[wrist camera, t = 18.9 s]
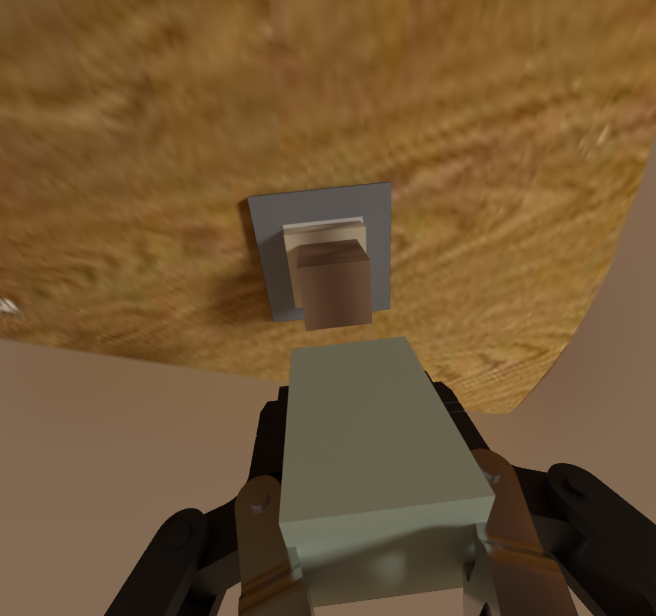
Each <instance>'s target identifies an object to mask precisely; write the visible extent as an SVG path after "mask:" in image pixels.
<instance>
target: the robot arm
mask: <svg viewBox="0 0 656 616" xmlns="http://www.w3.org/2000/svg"><path fill="white" fill-rule="evenodd" d="M424 371H425V370H424ZM425 373H426V374H427V376H428V378H429V380H430V381H431V383H432V385H433V387H434V388H435V390H436V392H437V394H438V395H439V397H440V399H441V401H442V403H443V404H444V406H445V408H446V410H447V411H448V413H449V415H450V417H451V418H452V420H453V422H454V424H455V425H456V427H457V429H458V431H459V432H460V434H461V436H462V438H463V439H464V441H465V443H466V445H467V446H468V448H469V450H470V452H471V453H472V455H473V457H474V459H475V460H476V462H477V464H478V466H479V467H480V469H481V471H482V473H483V474H484V476H485V478H486V480H487V481H488V483H489V485H490V487H491V488H492V490H493V492H494V494H495V495H496V496H495V499H494V502H493V505H492V508H491V511H490V514H489V517H488V520H487V522H479V523H475V526H474V530H473V539H474V546H475V560H474V562H468V563H464V564H463V567H462V579H463V593H464V596H463V609H464V616H578V613H577V610H576V608H575V605H574V603H573V600H572V597H571V594H570V592H569V589H568V586H569V587H570V589H571V590H572V591H573V592H574V593H575V594H576V595H577V597H578V598H579V599H580V600H581V601H582V603H583V604H584V605H585V606H586V607H587V608H588V610H589V611H590V612H591V613H592V614H593V615H594V616H656V525H655V524H654V523H653V522H652V521H650V520H649V519H648V518H647V517H645V516H644V515H643V514H642V513H640V512H639V511H638V510H636V509H635V508H634V507H633V506H632V505H630V504H629V503H628V502H627V501H625V500H624V499H623V498H622V497H620V496H619V495H618V494H617V493H615V492H614V491H613V490H612V489H610V488H609V487H608V486H606V485H605V484H604V483H603V482H601V481H600V480H599V479H598V478H596V477H595V476H594V475H592V474H591V473H589V472H588V471H586V470H584V469H582V468H580V467H578V466H575V465H571V464H566V463H558V464H554V465H552V466H551V467H550V468H549V470H548V472H547V473H546V472H541V471H536V470H530V469H525V468H520V467H516V466H513V465H511V464H510V463H509V462H508V461H507V460H506V459H505V458H503V457H502V456H500V455H499V454H497V453H495V452H493V451H491V450H490V449H489V447H488V446H487V444H486V443H485V441H484V440H483V438H482V436H481V435H480V433H479V432H478V430H477V429H476V427H475V426H474V424H473V423H472V421H471V419H470V418H469V416H468V415H467V413H466V412H465V411H464V408H463V407H462V405H461V404H460V403H459V401H458V399H457V398H456V396H455V394H454V393H453V391H452V390H451V389H450V388H448V387H447V386H446V385H445V384H443V383H442V382H441V381H440V382H433V381H432V380H431V378H430V376H429V374H428V373H427V371H425ZM288 393H289V386H283V387H280V388H279V395H278V400H277V401H269V402H267V403H266V405H265V406H264V408H263V409H262V411H261V413H260V418H259V423H258V429H257V434H256V435H257V437H256V440H255V445H254V450H253V456H252V462H251V467H250V473H249V477H248V480H247V482H246V484H245V485H244V486H243V487H242V488H241V490H240V492H239V493H238V495H237V496H236V497H235V498H234V499H233V500H231V501H230V502H228V503H226V504H225V505H223V506H220V507H218V508H216V509H214V510H212V511H210V512H208V513H206V514H203V513H202V512H201V511H200V510H198V509H195V508H188V509H184V510H181V511H179V512H177V513H175V514H174V515H172V516H171V517H170V518H169V519H167V520H166V521H165V522H164V524H163V525H162V526H161V527H160V529H159V530H158V531H157V533H156V535H155V536H154V538H153V539H152V541H151V543H150V544H149V546H148V547H147V549H146V550H145V552H144V553H143V555H142V557H141V558H140V560H139V561H138V563H137V564H136V566H135V568H134V569H133V571H132V572H131V574H130V576H129V577H128V579H127V580H126V582H125V583H124V585H123V586H122V588H121V590H120V591H119V593H118V594H117V596H116V597H115V599H114V601H113V602H112V604H111V605H110V607H109V608H108V610H107V612H106V613H105V615H104V616H217V613H218V611H219V608H220V606H221V603H222V600H223V597H224V595H225V593H226V590H227V589H229V588H230V587H232V586H234V585H235V584H237V583H239V582H241V589H242V590H241V596H240V598H239V605H238V616H315V614H314V610H313V606H312V602H311V598H310V594H309V590H308V586H307V584H305V580H304V576H303V572H302V568H301V564H300V560H299V556H298V552H297V549H296V546H295V547H286V544H285V541H284V538H283V535H282V532H281V529H280V526H279V512H280V499H281V486H282V473H283V460H284V446H285V433H286V420H287V407H288ZM567 585H568V586H567Z"/></svg>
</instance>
